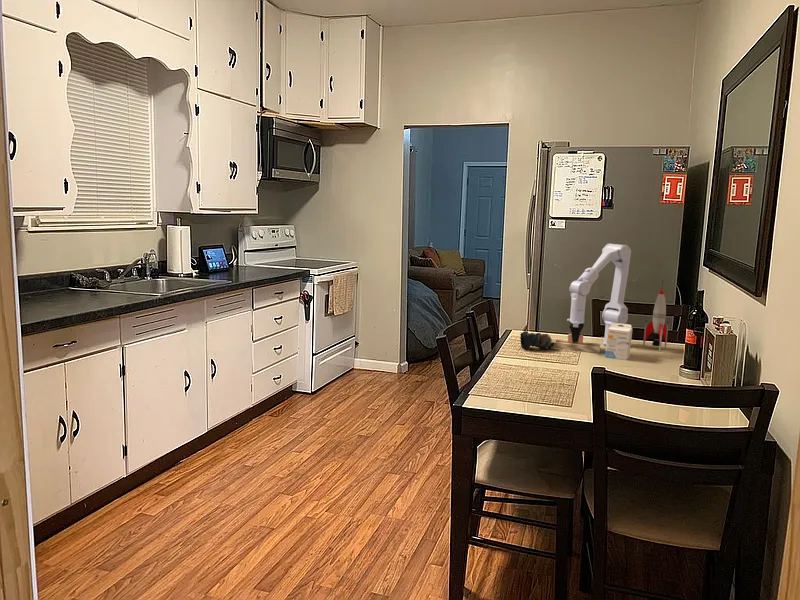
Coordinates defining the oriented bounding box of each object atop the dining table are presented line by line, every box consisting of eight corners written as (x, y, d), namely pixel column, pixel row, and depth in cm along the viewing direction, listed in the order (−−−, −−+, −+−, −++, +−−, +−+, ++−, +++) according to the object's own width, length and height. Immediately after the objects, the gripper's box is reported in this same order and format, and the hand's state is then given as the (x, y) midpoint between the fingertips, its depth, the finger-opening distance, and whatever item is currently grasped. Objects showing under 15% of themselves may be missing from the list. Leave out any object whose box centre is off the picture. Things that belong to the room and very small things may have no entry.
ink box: (604, 357, 245) (607, 324, 243) (608, 352, 253) (610, 321, 250) (627, 360, 241) (630, 326, 239) (630, 355, 249) (633, 323, 246)
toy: (665, 347, 266) (672, 279, 261) (671, 352, 258) (679, 281, 253) (642, 346, 267) (648, 278, 262) (648, 350, 258) (655, 280, 254)
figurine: (516, 332, 260) (551, 329, 259) (518, 351, 259) (554, 349, 258) (519, 330, 251) (555, 328, 250) (521, 351, 250) (558, 348, 249)
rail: (599, 349, 258) (600, 343, 258) (599, 353, 251) (599, 347, 251) (551, 344, 264) (551, 338, 264) (549, 347, 258) (550, 342, 258)
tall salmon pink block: (582, 347, 258) (583, 335, 257) (582, 348, 256) (583, 336, 255) (567, 346, 260) (568, 333, 259) (567, 347, 258) (568, 334, 257)
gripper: (569, 306, 263) (566, 336, 266) (566, 311, 250) (564, 343, 252) (586, 307, 261) (583, 338, 263) (584, 312, 248) (581, 345, 250)
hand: (575, 341), depth 257 cm, fingers closed on tall salmon pink block, 2 cm apart
